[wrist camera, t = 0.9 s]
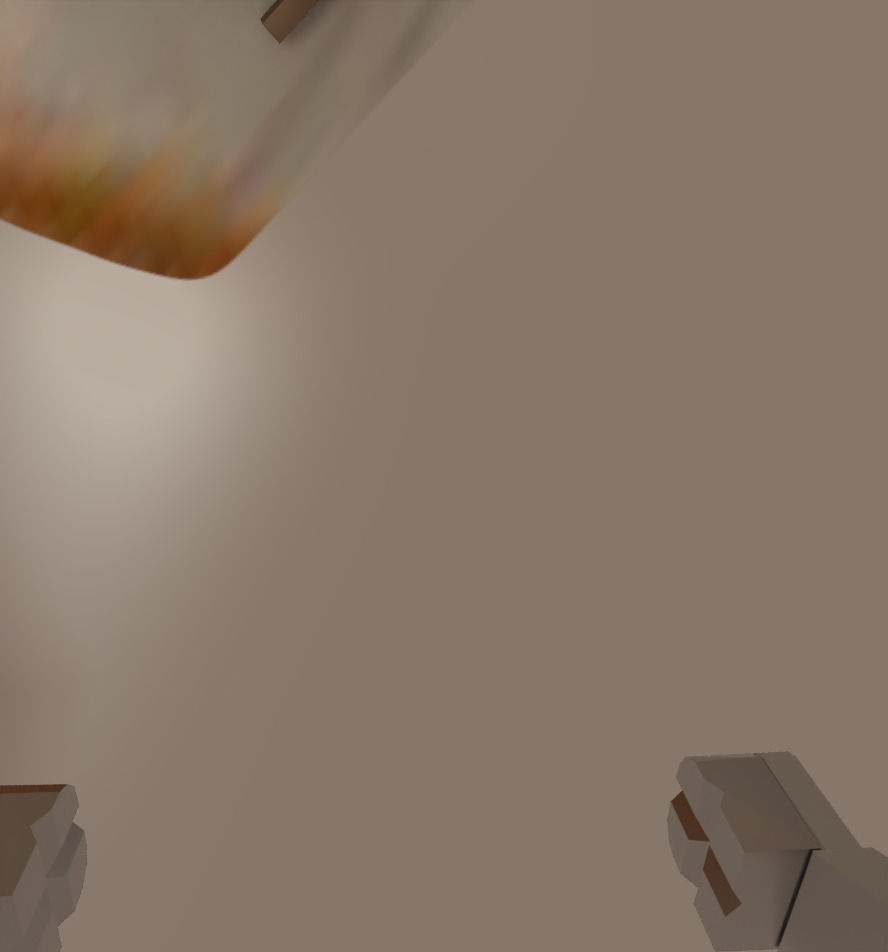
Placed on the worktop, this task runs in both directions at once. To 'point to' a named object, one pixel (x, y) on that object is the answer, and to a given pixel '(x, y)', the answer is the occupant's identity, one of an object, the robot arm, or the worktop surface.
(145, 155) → the worktop surface
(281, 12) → the wooden u-shaped stand
